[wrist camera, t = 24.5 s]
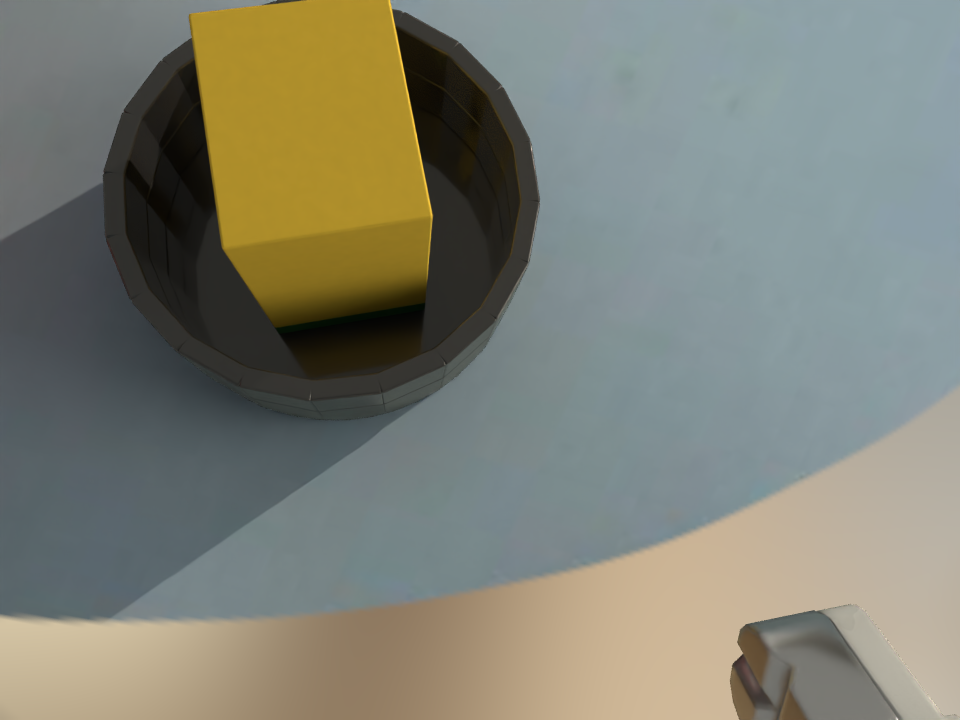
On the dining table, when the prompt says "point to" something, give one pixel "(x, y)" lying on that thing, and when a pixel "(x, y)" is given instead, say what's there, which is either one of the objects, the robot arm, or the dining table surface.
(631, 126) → the dining table surface
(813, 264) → the dining table surface
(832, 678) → the robot arm
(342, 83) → the sponge
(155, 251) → the bowl
